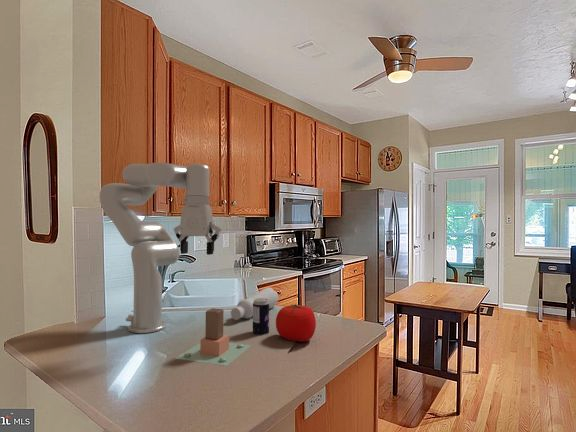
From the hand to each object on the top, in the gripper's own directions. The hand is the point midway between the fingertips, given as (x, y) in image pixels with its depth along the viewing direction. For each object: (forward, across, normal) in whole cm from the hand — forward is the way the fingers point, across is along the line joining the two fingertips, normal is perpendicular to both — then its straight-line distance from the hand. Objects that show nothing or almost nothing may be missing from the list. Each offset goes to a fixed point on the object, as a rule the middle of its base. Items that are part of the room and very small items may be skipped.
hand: (196, 253), depth 112 cm
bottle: (+29, +5, +37) cm, 47 cm away
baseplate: (+28, +12, -9) cm, 32 cm away
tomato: (+28, +31, +11) cm, 44 cm away
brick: (+27, +12, -9) cm, 31 cm away
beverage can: (+28, +18, +12) cm, 36 cm away
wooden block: (+24, +12, -9) cm, 28 cm away
